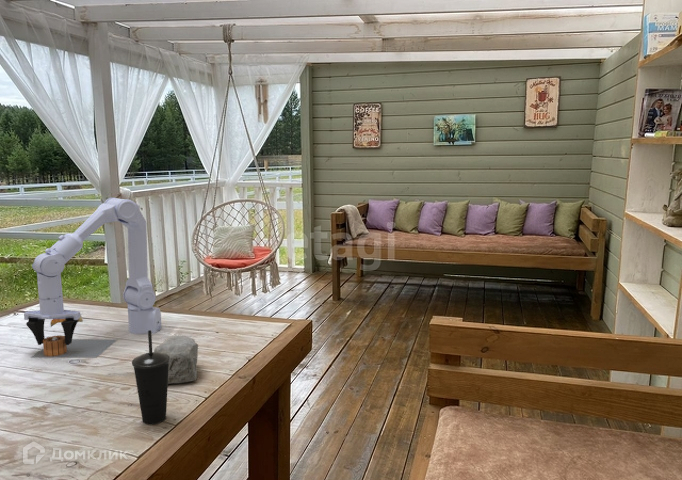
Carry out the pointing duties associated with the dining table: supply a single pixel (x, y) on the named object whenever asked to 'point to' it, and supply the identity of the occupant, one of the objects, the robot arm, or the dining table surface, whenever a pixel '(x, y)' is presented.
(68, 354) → the grey rectangular slab
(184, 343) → the stone
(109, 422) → the dining table surface
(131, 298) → the robot arm
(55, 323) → the pastry
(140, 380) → the drinking cup
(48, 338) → the bead
